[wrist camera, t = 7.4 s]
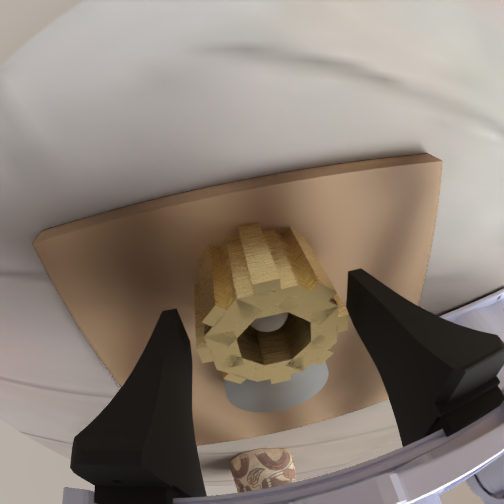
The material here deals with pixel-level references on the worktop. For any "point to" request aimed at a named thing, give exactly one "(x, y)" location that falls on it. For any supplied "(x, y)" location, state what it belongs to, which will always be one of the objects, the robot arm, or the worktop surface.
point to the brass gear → (265, 306)
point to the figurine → (263, 469)
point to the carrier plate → (188, 222)
